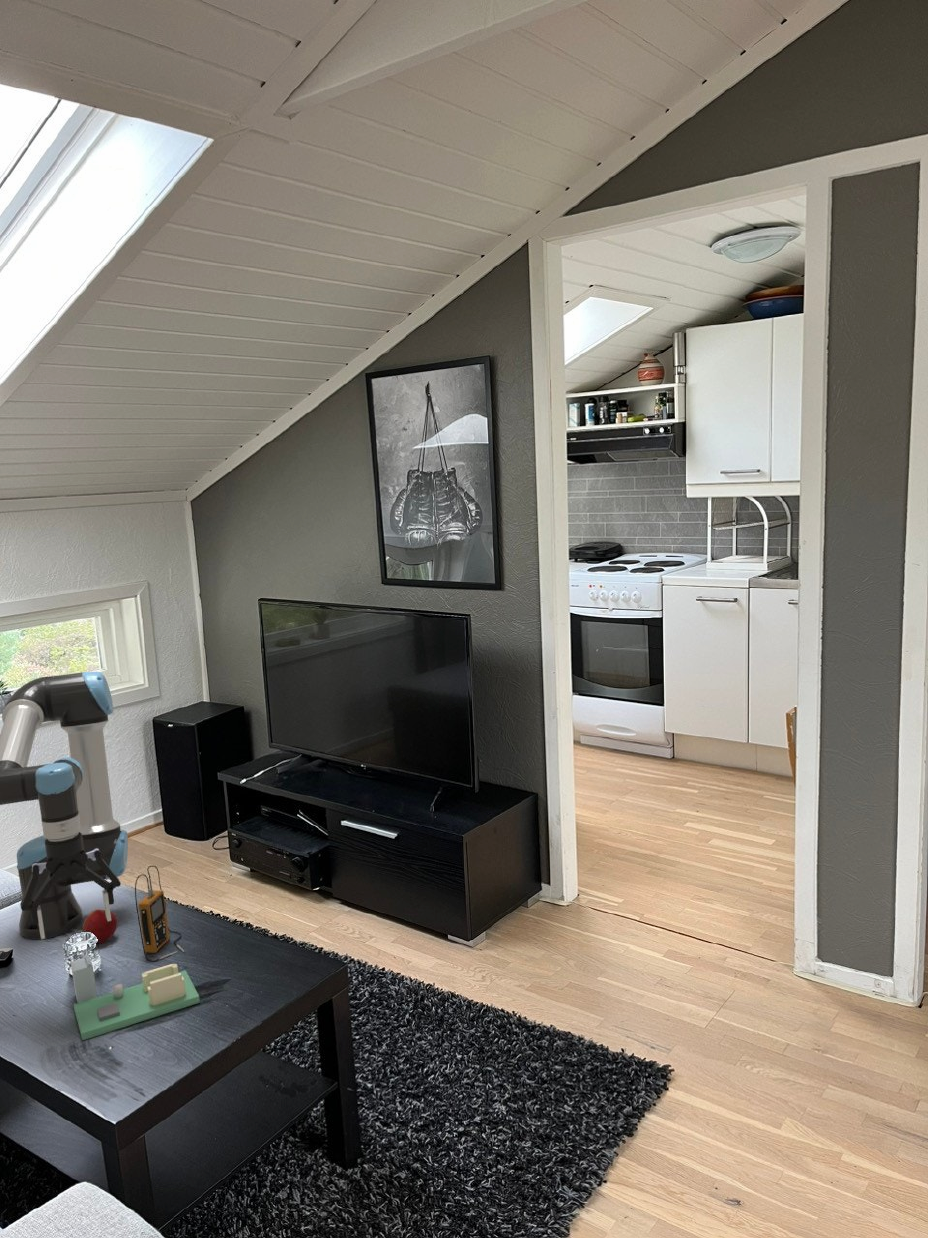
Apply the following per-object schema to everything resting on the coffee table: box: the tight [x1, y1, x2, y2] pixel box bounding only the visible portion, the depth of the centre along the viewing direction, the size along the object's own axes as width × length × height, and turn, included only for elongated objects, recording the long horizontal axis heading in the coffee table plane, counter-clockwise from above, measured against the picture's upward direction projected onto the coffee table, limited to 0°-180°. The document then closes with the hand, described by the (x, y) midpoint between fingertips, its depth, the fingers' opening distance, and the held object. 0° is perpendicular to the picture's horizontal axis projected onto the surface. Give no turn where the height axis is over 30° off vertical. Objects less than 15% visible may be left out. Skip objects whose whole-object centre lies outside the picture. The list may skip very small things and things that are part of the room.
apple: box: [82, 909, 118, 944], centre depth 238 cm, size 8×8×8 cm
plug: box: [70, 954, 98, 1003], centre depth 212 cm, size 5×4×9 cm
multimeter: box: [134, 865, 185, 963], centre depth 231 cm, size 15×10×20 cm
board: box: [73, 963, 201, 1041], centre depth 207 cm, size 13×24×6 cm, turn 119°
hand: (76, 927), depth 210 cm, fingers open, 13 cm apart
